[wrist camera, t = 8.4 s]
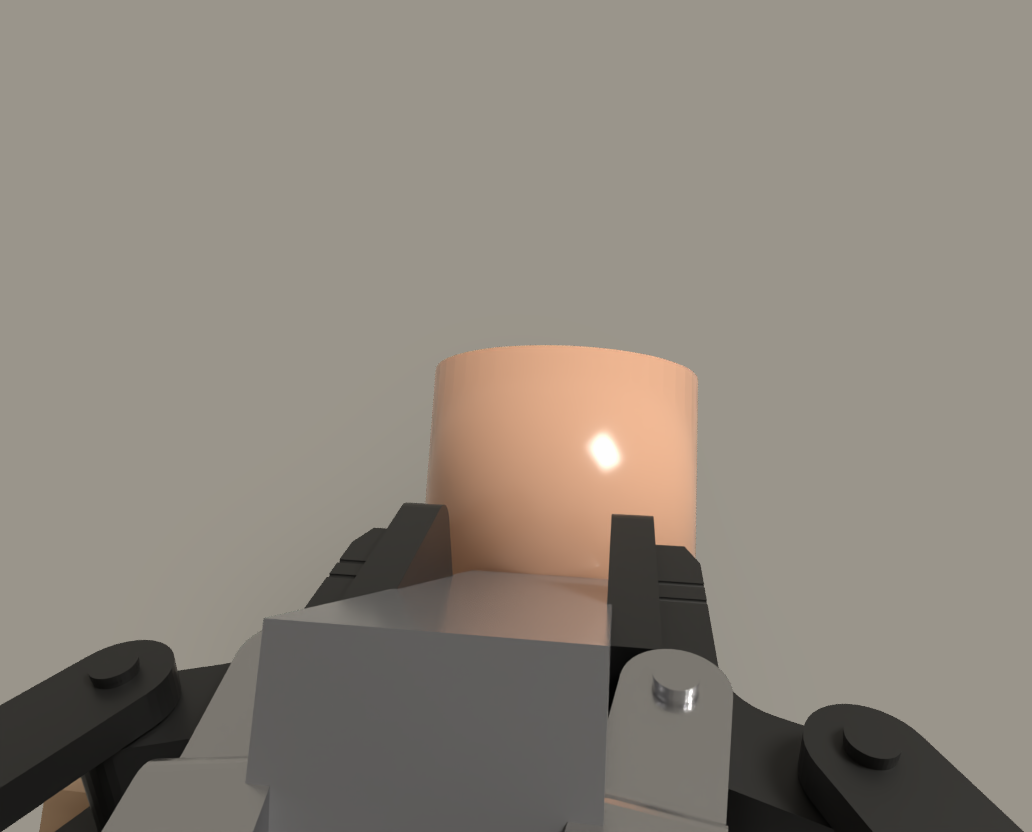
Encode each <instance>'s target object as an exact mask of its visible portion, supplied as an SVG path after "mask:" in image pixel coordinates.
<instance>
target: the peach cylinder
mask: <svg viewBox="0 0 1032 832" xmlns="http://www.w3.org/2000/svg"><path fill="white" fill-rule="evenodd" d="M697 408H698V378H697V376H696V374H694V373H693V372H692V371H691V370H689V369H688V368H686V367H684V366H682V365H679V364H677V363H675V362H671V361H668V360H665V359H662V358H658V357H653V356H650V355H644V354H639V353H634V352H628V351H621V350H614V349H605V348H594V347H581V346H558V345H529V346H509V347H497V348H488V349H481V350H475V351H470V352H465V353H462V354H458V355H454V356H452V357H449V358H447V359H445V360H443V361H441V362H440V363H439V364H438V365H437V367H436V374H435V387H434V399H433V412H432V425H431V438H430V451H429V464H428V476H427V489H426V503H425V504H441V505H446V507H447V509H448V513H449V522H450V538H451V555H452V571H453V576H450V577H446V578H441V579H437V580H433V581H429V582H425V583H420V584H416V585H412V586H408V587H404V588H399V589H388V590H384V591H380V592H375V593H371V594H367V595H362V596H358V597H354V598H349V599H345V600H341V601H336V602H332V603H328V604H323V605H319V606H315V607H310V608H306V609H302V610H297V611H293V612H289V613H284V614H280V615H275V616H271V617H267V618H264V620H263V629H262V638H261V647H260V656H259V665H258V673H257V682H256V691H255V700H254V709H253V718H252V727H251V736H250V745H249V753H248V762H247V771H246V780H245V783H248V784H256V785H264V786H270V799H269V830H268V832H565V829H566V825H567V822H574V823H582V824H591V825H599V826H603V824H604V799H605V781H606V755H607V729H608V717H609V684H610V652H611V624H612V605H611V604H607V594H608V574H609V554H610V535H611V515H612V514H626V515H645V516H654V529H655V544H656V545H670V546H685V547H686V549H687V550H688V551H689V552H690V553H691V554H692V555H693V556H694V558H695V556H696V555H695V554H696V484H697V411H698V409H697Z"/></svg>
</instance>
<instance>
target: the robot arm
mask: <svg viewBox="0 0 1032 832" xmlns="http://www.w3.org/2000/svg"><path fill="white" fill-rule="evenodd" d="M450 576H453V571H452V555H451V538H450V522H449V513H448V509H447V507H446V505H441V504H422V503H404V504H403V505H402V506H401V508H400V510H399V511H398V513H397V514H396V516H395V518H394V519H393V520H392V522H391V523H390V525H389V527H388V528H387V529H383V528H373V529H371V530H370V531H368V532H367V533H365V534H364V535H362V536H361V537H359V538H358V539H356V540H355V541H353V542H352V543H351V544H350V546H349V547H348V549H347V550H346V551H345V553H344V554H343V555H342V557H341V558H340V563H337V564H336V565H335V567H334V568H333V569H332V571H331V572H330V576H329V577H327V578H326V579H325V580H324V582H323V583H322V585H321V586H320V587H319V589H318V590H317V591H316V593H315V594H314V596H313V597H312V598H311V600H310V601H309V603H308V604H307V605H306V607H305V608H304V609H306V608H310V607H315V606H319V605H323V604H328V603H332V602H336V601H341V600H345V599H349V598H354V597H358V596H362V595H367V594H371V593H375V592H380V591H384V590H388V589H399V588H404V587H408V586H412V585H416V584H420V583H425V582H429V581H433V580H437V579H441V578H446V577H450ZM607 604H611V605H612V624H611V652H610V684H609V717H608V729H607V755H606V781H605V799H604V824H603V826H599V825H591V824H582V823H574V822H567V825H566V829H565V832H1023V831H1022V830H1021V829H1020V828H1019V827H1018V826H1017V825H1016V824H1015V823H1014V822H1013V821H1012V820H1011V819H1010V818H1009V817H1007V816H1006V815H1005V814H1004V813H1003V812H1002V811H1001V810H1000V809H999V808H998V807H997V806H996V805H995V804H994V803H992V802H991V801H990V800H989V799H988V798H987V797H986V796H985V795H984V794H983V793H982V792H981V791H980V790H979V789H977V787H976V786H974V785H973V784H972V783H971V782H970V781H969V780H968V779H967V778H966V777H965V776H964V775H963V774H962V773H961V772H960V771H958V770H957V769H956V768H955V767H954V766H953V765H952V764H951V763H950V762H949V761H948V760H947V759H946V758H944V757H943V756H942V755H941V754H940V753H939V752H938V751H937V750H936V749H935V748H934V747H933V746H932V745H931V744H930V743H929V742H928V741H926V740H925V739H924V738H923V737H922V736H921V735H920V734H919V733H917V732H916V731H915V730H914V729H913V728H911V727H910V726H908V725H907V724H905V723H904V722H902V721H900V720H898V719H897V718H895V717H893V716H891V715H889V714H886V713H884V712H882V711H879V710H876V709H872V708H869V707H865V706H860V705H852V704H836V705H830V706H826V707H823V708H821V709H818V710H817V711H815V712H813V713H812V714H811V715H810V716H809V717H808V719H807V721H806V722H805V725H804V726H803V725H800V724H797V723H794V722H791V721H788V720H785V719H782V718H779V717H776V716H773V715H771V714H768V713H765V712H763V711H761V710H759V709H757V708H755V707H753V706H751V705H750V704H748V703H747V702H745V701H744V700H742V699H741V698H740V697H738V696H737V695H736V694H735V693H734V692H733V690H732V687H731V684H730V682H729V680H728V678H727V677H726V675H725V674H724V673H723V672H722V671H721V670H720V669H719V667H718V663H717V657H716V651H715V645H714V640H713V634H712V628H711V623H710V617H709V611H708V605H707V603H706V595H705V588H704V582H703V577H702V571H701V566H700V563H699V562H698V561H697V560H696V559H695V558H694V556H693V555H692V554H691V553H690V552H689V551H688V550H687V549H686V547H685V546H670V545H656V544H655V529H654V516H645V515H626V514H612V515H611V535H610V554H609V574H608V594H607ZM261 638H262V631H260V632H258V633H257V634H255V635H253V636H252V637H251V638H250V639H248V640H247V641H246V642H245V643H244V644H243V645H242V646H241V647H240V649H239V650H238V652H237V653H236V655H235V657H234V659H233V661H232V663H227V664H222V665H215V666H208V667H201V668H194V669H187V670H181V671H177V667H176V663H175V658H174V654H173V652H172V650H171V649H170V648H169V647H168V646H167V645H165V644H163V643H161V642H156V641H151V640H136V641H129V642H124V643H120V644H116V645H113V646H110V647H107V648H105V649H102V650H100V651H97V652H95V653H94V654H92V655H90V656H88V657H86V658H84V659H83V660H81V661H79V662H77V663H75V664H73V665H72V666H70V667H68V668H66V669H64V670H63V671H61V672H59V673H57V674H55V675H54V676H52V677H50V678H48V679H47V680H45V681H43V682H41V683H40V684H38V685H36V686H34V687H32V688H30V689H29V690H27V691H25V692H23V693H22V694H20V695H18V696H16V697H14V698H13V699H11V700H9V701H7V702H5V703H4V704H2V705H0V832H2V831H3V830H5V829H6V828H7V827H9V826H10V825H12V824H13V823H15V822H16V821H18V820H19V819H21V818H22V817H23V816H25V815H26V814H28V813H29V812H31V811H32V810H34V809H35V808H37V807H38V806H39V805H41V804H42V803H44V802H45V801H47V800H48V799H50V798H51V797H53V796H54V795H55V794H57V793H58V792H60V791H61V790H63V789H64V788H66V787H67V786H69V785H70V784H71V783H73V782H74V781H76V780H77V779H79V778H80V777H81V780H82V783H83V786H84V789H85V793H86V796H87V799H88V802H89V805H90V806H89V807H88V808H86V809H85V810H84V811H82V812H81V813H80V814H78V815H77V816H75V817H74V818H73V819H71V820H70V821H69V822H67V823H66V824H64V825H63V826H62V827H60V828H59V829H58V830H56V831H55V832H268V830H269V799H270V786H264V785H256V784H248V783H245V780H246V771H247V762H248V753H249V745H250V736H251V727H252V718H253V709H254V700H255V691H256V682H257V673H258V665H259V656H260V647H261Z"/></svg>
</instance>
